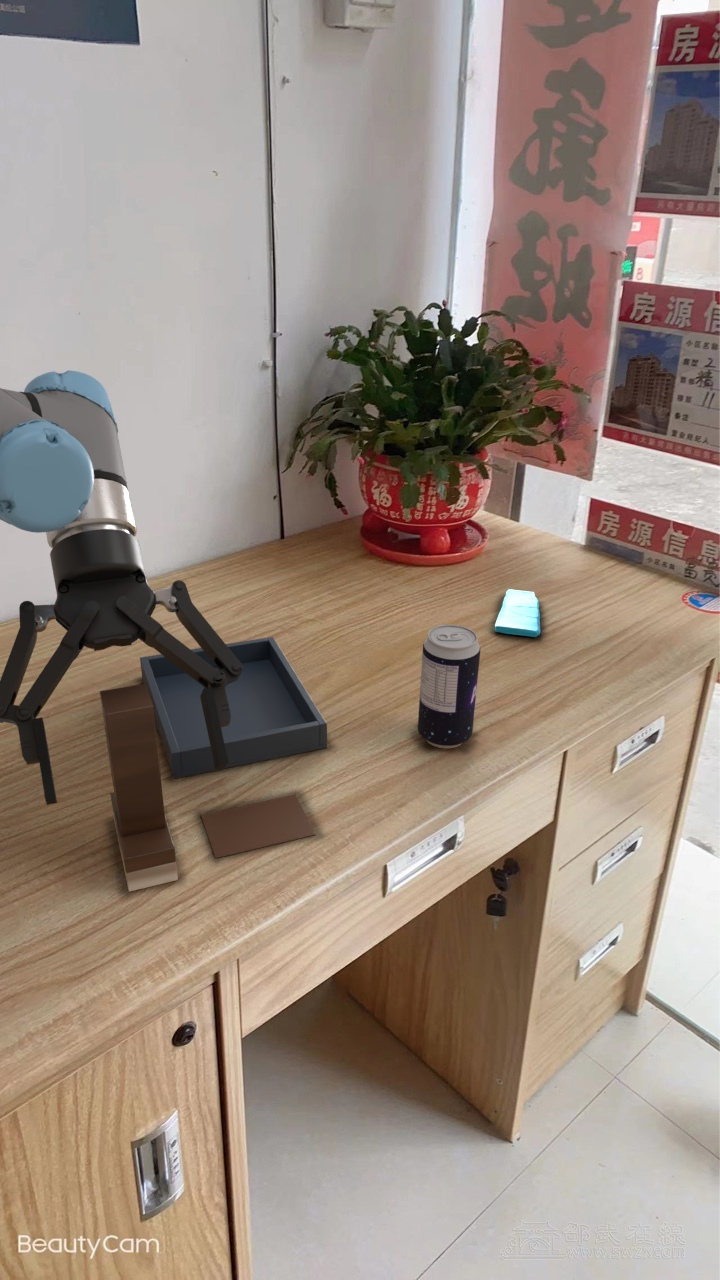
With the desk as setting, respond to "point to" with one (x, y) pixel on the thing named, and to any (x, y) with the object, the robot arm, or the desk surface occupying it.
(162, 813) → the brush
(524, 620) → the sponge
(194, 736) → the tray
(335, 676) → the desk surface
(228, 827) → the stain
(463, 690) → the beverage can
